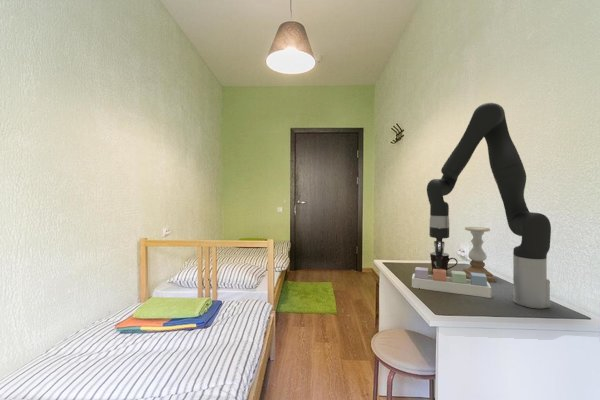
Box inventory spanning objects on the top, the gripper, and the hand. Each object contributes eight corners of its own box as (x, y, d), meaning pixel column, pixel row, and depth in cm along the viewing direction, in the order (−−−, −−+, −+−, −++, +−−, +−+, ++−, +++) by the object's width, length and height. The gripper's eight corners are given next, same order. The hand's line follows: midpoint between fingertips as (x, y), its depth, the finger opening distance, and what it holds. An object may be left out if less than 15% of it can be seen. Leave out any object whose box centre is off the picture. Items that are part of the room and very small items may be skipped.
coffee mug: (426, 272, 140) (426, 253, 140) (437, 270, 144) (437, 251, 144) (446, 278, 130) (446, 257, 130) (458, 276, 133) (458, 255, 133)
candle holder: (496, 282, 123) (496, 229, 123) (469, 281, 126) (469, 229, 125) (484, 275, 134) (484, 226, 134) (460, 274, 136) (460, 226, 136)
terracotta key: (446, 280, 117) (446, 269, 117) (446, 283, 113) (446, 272, 113) (433, 278, 120) (433, 268, 120) (432, 282, 115) (432, 271, 115)
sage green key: (465, 282, 114) (464, 271, 114) (466, 286, 110) (466, 275, 110) (451, 280, 116) (451, 270, 116) (451, 284, 112) (451, 273, 112)
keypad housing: (487, 291, 112) (487, 281, 112) (491, 298, 105) (491, 287, 105) (413, 282, 125) (413, 273, 125) (411, 287, 118) (411, 278, 118)
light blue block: (485, 284, 111) (485, 273, 111) (486, 288, 107) (486, 277, 106) (470, 283, 113) (470, 272, 113) (471, 286, 109) (471, 275, 109)
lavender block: (428, 278, 121) (428, 268, 120) (427, 281, 116) (427, 271, 116) (415, 276, 123) (415, 266, 123) (415, 280, 118) (414, 269, 118)
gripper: (429, 224, 123) (429, 262, 124) (429, 227, 111) (429, 269, 112) (448, 225, 120) (448, 264, 120) (450, 228, 108) (449, 271, 108)
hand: (439, 266), depth 116 cm, fingers closed
